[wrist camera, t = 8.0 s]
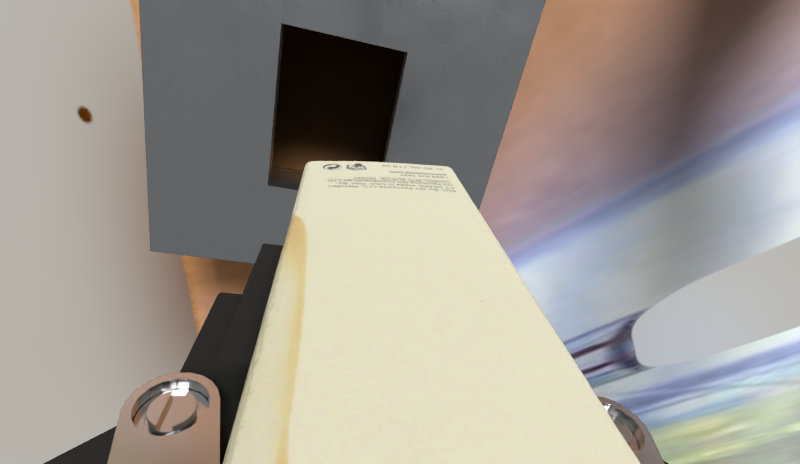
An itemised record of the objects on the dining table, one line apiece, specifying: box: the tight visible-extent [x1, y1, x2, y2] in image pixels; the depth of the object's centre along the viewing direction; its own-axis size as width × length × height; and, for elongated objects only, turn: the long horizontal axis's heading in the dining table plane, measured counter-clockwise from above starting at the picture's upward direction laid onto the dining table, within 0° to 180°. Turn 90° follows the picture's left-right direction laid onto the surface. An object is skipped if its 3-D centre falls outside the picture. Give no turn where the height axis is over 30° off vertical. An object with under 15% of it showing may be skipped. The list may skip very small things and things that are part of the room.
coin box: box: [139, 0, 546, 264], centre depth 27 cm, size 18×18×12 cm
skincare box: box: [223, 161, 640, 464], centre depth 8 cm, size 6×4×12 cm
